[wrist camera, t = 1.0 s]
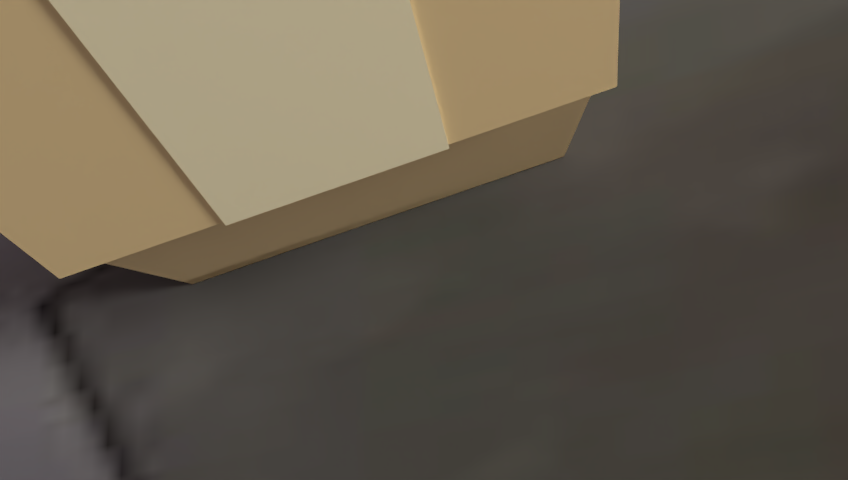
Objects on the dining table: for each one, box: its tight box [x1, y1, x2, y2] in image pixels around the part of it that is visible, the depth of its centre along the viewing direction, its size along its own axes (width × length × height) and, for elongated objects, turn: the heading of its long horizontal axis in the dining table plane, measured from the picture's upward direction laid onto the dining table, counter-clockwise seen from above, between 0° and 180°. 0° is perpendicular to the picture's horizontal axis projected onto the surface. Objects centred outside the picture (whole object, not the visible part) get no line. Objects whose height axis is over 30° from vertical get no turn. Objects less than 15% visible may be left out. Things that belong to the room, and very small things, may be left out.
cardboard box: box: [105, 96, 590, 284], centre depth 21 cm, size 10×12×8 cm
